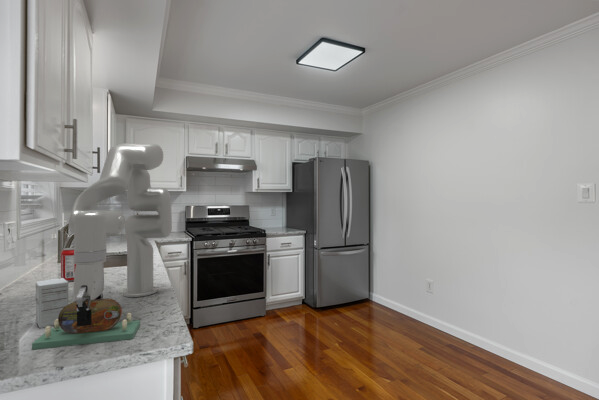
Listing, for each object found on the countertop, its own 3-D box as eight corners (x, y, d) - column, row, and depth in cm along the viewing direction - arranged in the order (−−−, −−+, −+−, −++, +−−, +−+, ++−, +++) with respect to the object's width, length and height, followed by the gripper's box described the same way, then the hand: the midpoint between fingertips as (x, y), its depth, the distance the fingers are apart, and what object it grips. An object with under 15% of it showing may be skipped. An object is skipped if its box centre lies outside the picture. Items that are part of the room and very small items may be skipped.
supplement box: (35, 322, 101) (35, 281, 101) (64, 316, 106) (64, 277, 106) (38, 329, 96) (38, 285, 96) (69, 322, 101) (68, 281, 101)
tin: (57, 335, 87) (57, 303, 87) (62, 330, 90) (62, 300, 90) (120, 329, 91) (120, 299, 91) (123, 325, 94) (123, 296, 94)
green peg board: (50, 333, 92) (50, 317, 92) (139, 325, 98) (139, 309, 98) (32, 349, 82) (32, 330, 82) (132, 338, 89) (132, 321, 89)
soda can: (65, 283, 147) (65, 250, 147) (57, 281, 151) (57, 248, 151) (84, 279, 154) (84, 247, 154) (76, 277, 158) (76, 246, 158)
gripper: (86, 252, 98) (86, 310, 98) (61, 263, 81) (61, 332, 81) (114, 251, 100) (114, 307, 100) (95, 261, 83) (95, 329, 83)
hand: (90, 318), depth 90 cm, fingers open, 9 cm apart
